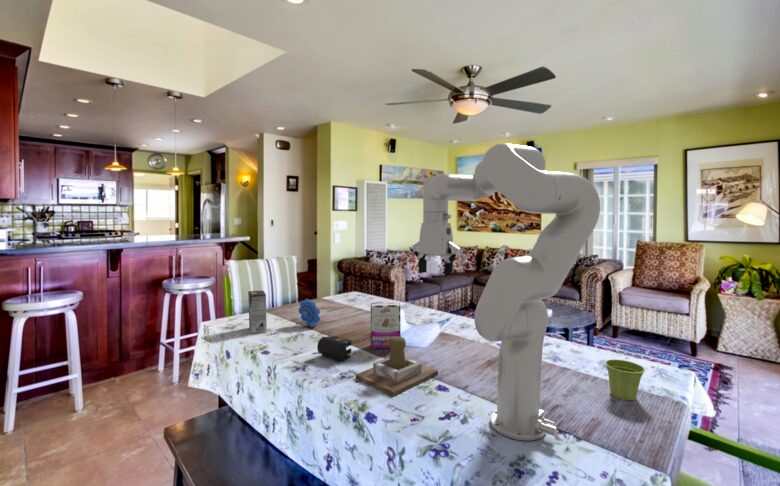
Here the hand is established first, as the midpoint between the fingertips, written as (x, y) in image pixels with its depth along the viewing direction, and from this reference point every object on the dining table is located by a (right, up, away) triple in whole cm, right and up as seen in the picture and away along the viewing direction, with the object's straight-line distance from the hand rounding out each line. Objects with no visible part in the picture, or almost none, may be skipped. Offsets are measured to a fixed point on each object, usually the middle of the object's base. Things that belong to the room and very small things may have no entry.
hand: (435, 274), depth 117 cm
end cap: (-33, -31, +16) cm, 48 cm away
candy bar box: (-16, -30, +27) cm, 43 cm away
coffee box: (-70, -28, +46) cm, 89 cm away
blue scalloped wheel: (-50, -27, +51) cm, 77 cm away
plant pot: (+51, -33, -11) cm, 62 cm away
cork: (-12, -31, +1) cm, 33 cm away
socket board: (-12, -32, +1) cm, 34 cm away
